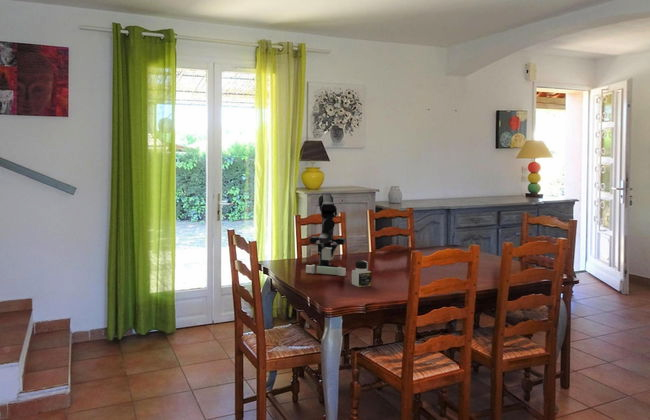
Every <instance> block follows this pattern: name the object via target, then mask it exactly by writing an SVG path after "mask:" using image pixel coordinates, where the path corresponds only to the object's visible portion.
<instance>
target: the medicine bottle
mask: <svg viewBox="0 0 650 420" xmlns="http://www.w3.org/2000/svg"><path fill="white" fill-rule="evenodd" d="M368 263H369V262H368V261H366V260H357V261H355V266H354V267H355V269H352V270H351V285H353V286H355V287H357V288H361V287H363V288H364V287H370V286H371V285H372V271H370V270H368V268H369V264H368Z"/></svg>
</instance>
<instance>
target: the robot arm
mask: <svg viewBox="0 0 650 420" xmlns="http://www.w3.org/2000/svg"><path fill="white" fill-rule="evenodd" d="M317 201H318V203H317V204H318V208H319V211H320V217H321V233H320V235H319V236H317V235H316V236H315V235H313V236H311V237H309V240H308V241H309V243H311V244H315V245H316V246H317V250H316V251H317V256H319V263H318V264H317V266H323V267H330V266H331V265H332V263H330V260H322V249H323V248H325V247H328V248H332V253H331V257H333V258H334V254H335V252H336V249H337V248H338V246H339V245H340V246H344V245H346V244H347V239H346V237H337V238H335V237H334V231H335V229H334V228H335V226H336V225H335V224H336V223H335V220H334V218H337V216H338V211H337V210H338V209H337V206H336V205H335V203H334V197H333V196H332V194H331V193H329V192H328V193H327V192H325V193H321V195H320V196H319V197H318V199H317Z"/></svg>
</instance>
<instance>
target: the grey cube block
mask: <svg viewBox="0 0 650 420" xmlns="http://www.w3.org/2000/svg"><path fill="white" fill-rule="evenodd" d="M331 253H332V248H328V247H325V248H323V249H322V260H329V261H331V260H333V259H334V256H333V257H331Z"/></svg>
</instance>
